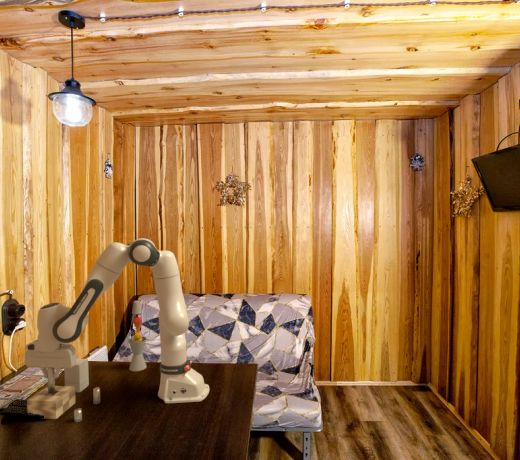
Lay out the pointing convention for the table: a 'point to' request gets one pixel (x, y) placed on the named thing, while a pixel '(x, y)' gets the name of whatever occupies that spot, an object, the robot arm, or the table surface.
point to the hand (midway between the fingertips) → (51, 377)
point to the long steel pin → (51, 380)
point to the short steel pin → (77, 415)
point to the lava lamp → (137, 342)
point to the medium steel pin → (96, 395)
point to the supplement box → (77, 375)
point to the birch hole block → (52, 402)
